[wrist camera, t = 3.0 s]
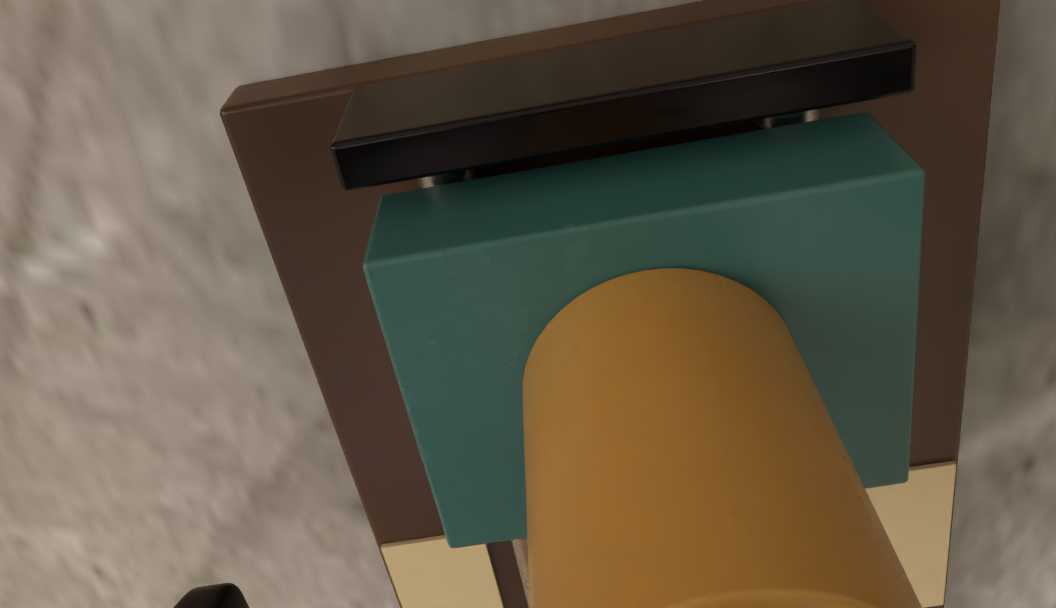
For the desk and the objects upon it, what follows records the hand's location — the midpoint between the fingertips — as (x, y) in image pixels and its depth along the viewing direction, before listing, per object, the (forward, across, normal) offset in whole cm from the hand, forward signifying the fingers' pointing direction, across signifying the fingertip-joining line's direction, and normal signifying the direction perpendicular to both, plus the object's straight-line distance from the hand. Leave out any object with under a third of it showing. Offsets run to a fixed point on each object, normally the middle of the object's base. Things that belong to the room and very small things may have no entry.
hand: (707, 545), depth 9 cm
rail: (+6, 0, +4) cm, 8 cm away
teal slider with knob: (+4, 0, 0) cm, 4 cm away
